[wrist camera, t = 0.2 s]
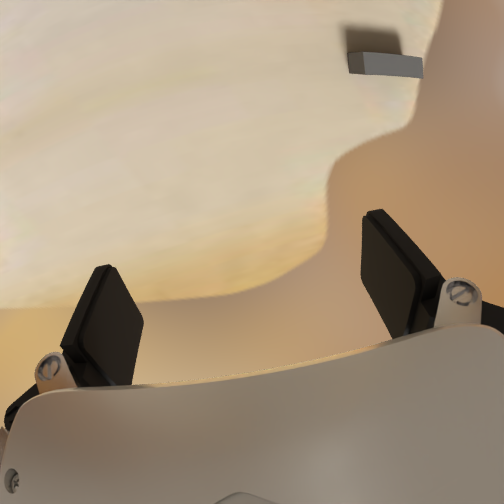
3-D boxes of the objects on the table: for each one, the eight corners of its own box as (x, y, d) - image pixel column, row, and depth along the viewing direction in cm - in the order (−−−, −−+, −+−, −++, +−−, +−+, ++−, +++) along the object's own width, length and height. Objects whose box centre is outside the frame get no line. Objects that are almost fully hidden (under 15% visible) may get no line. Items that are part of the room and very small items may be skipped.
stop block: (347, 53, 32) (363, 51, 28) (402, 56, 32) (422, 57, 28) (349, 73, 34) (365, 74, 29) (404, 75, 33) (423, 78, 29)
